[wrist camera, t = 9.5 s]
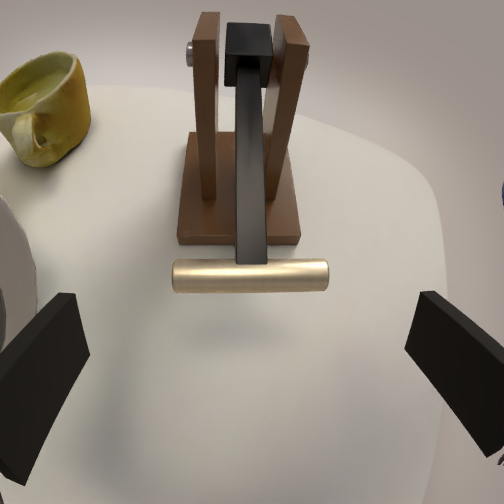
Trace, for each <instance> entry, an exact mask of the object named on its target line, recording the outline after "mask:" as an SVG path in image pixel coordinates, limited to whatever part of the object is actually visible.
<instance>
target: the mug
mask: <svg viewBox="0 0 504 504" xmlns="http://www.w3.org/2000/svg"><path fill="white" fill-rule="evenodd" d="M90 120H91V116H90V107H89V101H88V95H87V89H86V83H85V77H84V73H83V70H82V66H81V63H80V61H79V59H78V58H77V57H76V56H75V55H74V54H69V53H67V52H65V51H54V52H51V53H48V54H45V55H41V56H39V57H37V58H35V59H32V60H30V61H28V62H26V63H25V64H23V65H22V66H20V67H18V68H17V69H16V70H14V71H13V72H12V73H11V74H10V75H9V76H8V77H7V78H6V79H5V80H4V81H2V82H1V84H0V131H1V133H2V134H3V135H4V137H5V138H6V139H7V140H8V141H9V143H10V144H11V146H12V147H13V149H14V151H15V153H16V154H17V156H18V158H19V159H20V160H21V161H22V162H23V163H25V164H26V165H29V166H32V167H47V166H49V165H52V164H54V163H56V162H57V161H58V160H60V159H61V158H62V157H63V156H64V155H65V154H66V153H67V152H68V151H69V150H70V149H72V148H74V147H75V146H76V145H78V144H79V143H80V142H81V141H82V140H83V138H84V137H85V136H86V134H87V133H88V129H89V126H90Z"/></svg>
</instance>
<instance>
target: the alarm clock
mask: <svg viewBox="0 0 504 504" xmlns="http://www.w3.org/2000/svg"><path fill="white" fill-rule="evenodd" d="M37 302H38V300H37V285H36V267H35V264H34V261H33V257H32V254H31V250H30V247H29V243H28V240H27V236H26V233H25V232H24V230H23V228H22V227H21V225H20V223H19V222H18V220H17V219H16V217H15V215H14V213H13V212H12V210H11V208H10V207H9V205H8V203H7V201H6V200H5V199H4V198H3V197H2V196H1V194H0V353H1V352H2V351H3V350H4V349H5V347H6V346H7V345H8V344H9V343H10V342H11V341H12V340H13V339H14V338H15V336H16V335H17V334H18V333H19V332H20V331H21V330H22V329H23V328H24V327H25V326H26V325H27V324H28V323H29V322H30V321H31V320H32V319H33V318H34V317H35V315H36V308H37Z"/></svg>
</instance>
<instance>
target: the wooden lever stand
mask: <svg viewBox="0 0 504 504" xmlns="http://www.w3.org/2000/svg"><path fill="white" fill-rule="evenodd" d="M219 32H220V12H202V13H201V15H200V18H199V21H198V24H197V27H196V30H195V33H194V36H193V39H192V42H188V44H187V51H186V62H187V66H188V67H193V77H194V78H193V79H194V99H195V117H196V132H189V137H188V144H187V151H186V158H185V165H184V173H183V181H182V189H181V198H180V207H179V217H178V227H177V238H178V242H179V245H235V132H218V76H219V75H218V73H219ZM272 45H273V55H274V57H273V62H272V67H271V72H270V77H269V81H268V86H267V88H266V95H265V102H264V109H263V117H262V118H263V141H264V166H265V193H266V224H267V245H297V244H298V242H299V240H300V237H301V232H300V225H299V218H298V211H297V204H296V197H295V190H294V184H293V178H292V171H291V165H290V159H289V153H288V147H287V146H288V142H289V137H290V133H291V128H292V124H293V120H294V115H295V111H296V106H297V101H298V97H299V92H300V88H301V84H302V79H303V75H304V71H305V70H306V68H307V65H308V57H309V54H308V52H309V47H310V45H309V43H308V41H307V40H306V37H305V35H304V34H303V31H302V30H301V28H300V26H299V24H298V22H297V20H296V18H295V17H294V16H286V15H276V22H275V29H274V37H273V43H272Z"/></svg>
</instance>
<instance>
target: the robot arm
mask: <svg viewBox="0 0 504 504" xmlns="http://www.w3.org/2000/svg"><path fill="white" fill-rule="evenodd" d="M404 349H405V351H406V352H407V353H408V354H409V355H410V357H411V358H412V359H413V360H414V362H415V363H416V364H417V365H418V367H419V368H420V369H421V370H422V372H423V373H424V374H425V375H426V377H427V378H428V379H429V381H430V382H431V383H432V384H433V386H434V387H435V388H436V390H437V391H438V392H439V393H440V395H441V396H442V397H443V399H444V400H445V401H446V402H447V404H448V405H449V407H450V408H451V409H452V410H453V412H454V413H455V415H456V416H457V417H458V419H459V420H460V421H461V423H462V424H463V426H464V427H465V428H466V430H467V431H468V432H469V434H470V435H471V437H472V438H473V439H474V441H475V442H476V444H477V445H478V446H479V448H480V449H481V450H482V452H483V453H484V455H485V456H486V458H487V457H489V456H491V455H492V454H494V453H496V452H497V451H499V450H500V449H501V448H502V447H503V446H504V348H503V346H501V345H500V344H499V343H498V342H497V341H496V340H494V339H493V338H492V337H491V336H489V334H487V333H486V332H485V331H484V330H483V329H482V328H480V327H479V326H478V325H477V324H476V323H474V322H473V321H472V320H471V319H469V318H468V317H467V316H466V315H465V314H463V313H462V312H461V311H459V310H458V309H457V308H456V307H455V306H453V305H452V304H451V303H449V302H448V301H447V300H446V299H444V298H443V297H442V296H440V295H439V294H438V293H437V292H435V291H423V292H420V295H419V299H418V303H417V307H416V311H415V314H414V318H413V322H412V325H411V329H410V332H409V335H408V339H407V342H406V345H405V348H404ZM89 356H90V352H89V349H88V345H87V342H86V338H85V334H84V330H83V326H82V322H81V318H80V314H79V309H78V305H77V300H76V295H75V294H74V293H58V294H57V295H56V296H55V297H54V298H53V299H52V300H50V301H49V302H48V303H47V304H46V305H45V306H44V307H43V308H42V309H41V310H40V311H39V312H38V313H37V314H36V315H35V317H34V318H33V319H32V320H31V321H30V322H29V323H28V324H27V325H26V326H25V327H24V328H23V329H22V330H21V331H20V332H19V333H18V334H17V335H16V336H15V338H14V339H13V340H12V341H11V342H10V343H9V344H8V345H7V346H6V347H5V349H4V350H3V351H2V352H1V353H0V472H1V473H2V474H3V476H4V477H5V478H7V479H9V480H12V481H14V482H16V483H18V484H20V485H23V486H25V485H26V482H27V480H28V478H29V475H30V473H31V471H32V468H33V466H34V464H35V461H36V459H37V457H38V455H39V453H40V450H41V448H42V446H43V444H44V442H45V440H46V438H47V436H48V433H49V431H50V429H51V427H52V425H53V423H54V421H55V419H56V417H57V415H58V413H59V411H60V409H61V407H62V405H63V404H64V402H65V400H66V398H67V396H68V394H69V392H70V390H71V388H72V387H73V385H74V383H75V381H76V379H77V377H78V376H79V374H80V372H81V370H82V369H83V367H84V365H85V363H86V361H87V360H88V358H89ZM503 461H504V454H503V455H502V457H501V458H500V459H499V461H498V465H500V464H501V463H502V462H503ZM0 504H4V502H3V499H2V496H1V492H0Z"/></svg>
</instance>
